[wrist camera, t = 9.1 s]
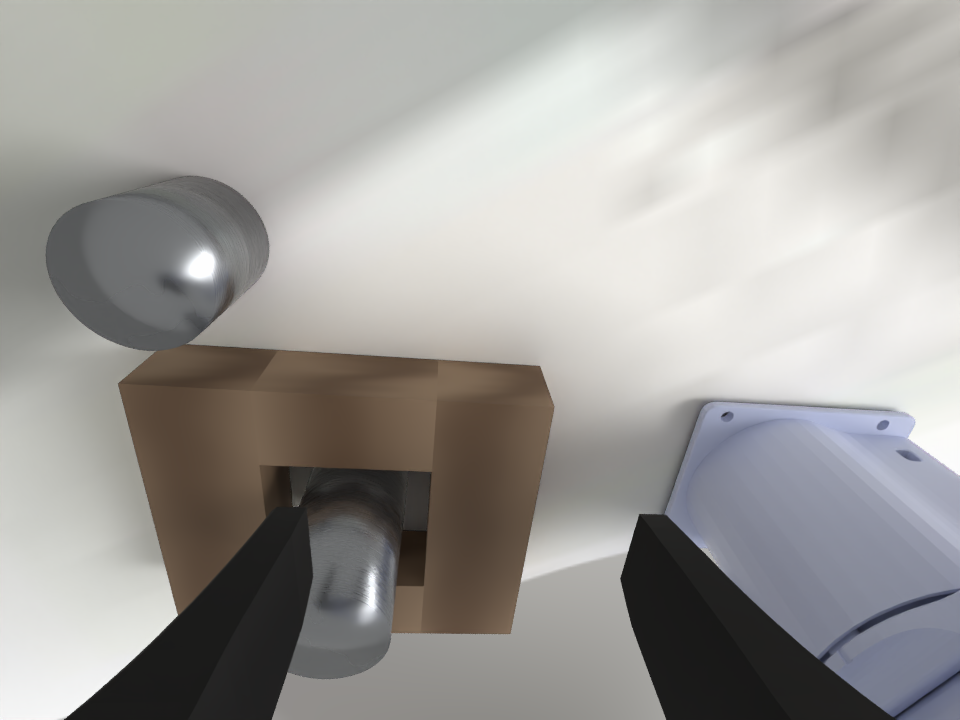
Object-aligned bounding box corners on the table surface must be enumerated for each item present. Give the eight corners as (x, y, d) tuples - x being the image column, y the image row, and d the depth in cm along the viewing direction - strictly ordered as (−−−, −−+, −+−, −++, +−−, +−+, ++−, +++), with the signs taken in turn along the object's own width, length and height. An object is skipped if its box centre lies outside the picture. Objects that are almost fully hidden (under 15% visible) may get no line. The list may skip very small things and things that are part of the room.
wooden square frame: (539, 366, 20) (554, 407, 17) (503, 577, 25) (510, 634, 22) (165, 343, 18) (117, 383, 16) (211, 571, 24) (182, 631, 21)
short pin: (263, 182, 16) (202, 207, 12) (274, 299, 18) (224, 355, 14) (132, 170, 16) (24, 192, 12) (156, 291, 18) (70, 345, 14)
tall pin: (412, 441, 21) (396, 597, 14) (403, 512, 23) (384, 681, 16) (315, 431, 21) (251, 588, 14) (313, 505, 22) (255, 676, 16)
